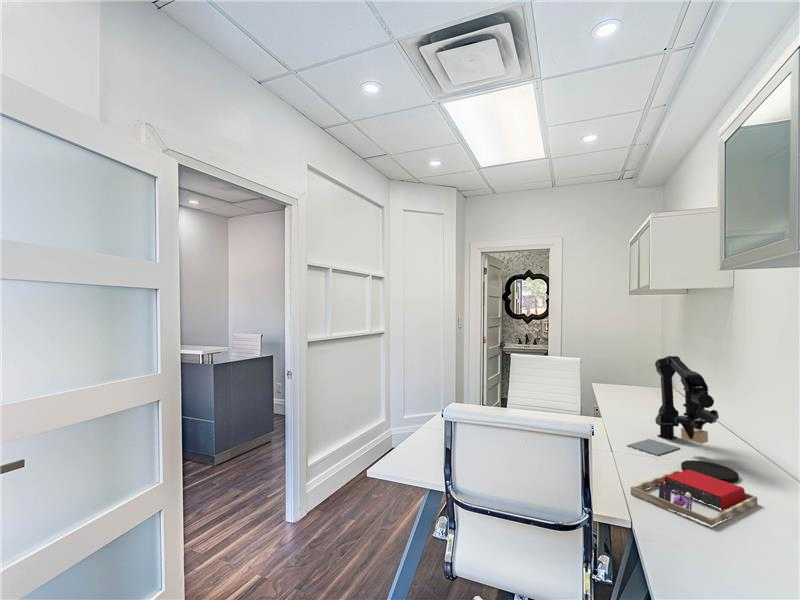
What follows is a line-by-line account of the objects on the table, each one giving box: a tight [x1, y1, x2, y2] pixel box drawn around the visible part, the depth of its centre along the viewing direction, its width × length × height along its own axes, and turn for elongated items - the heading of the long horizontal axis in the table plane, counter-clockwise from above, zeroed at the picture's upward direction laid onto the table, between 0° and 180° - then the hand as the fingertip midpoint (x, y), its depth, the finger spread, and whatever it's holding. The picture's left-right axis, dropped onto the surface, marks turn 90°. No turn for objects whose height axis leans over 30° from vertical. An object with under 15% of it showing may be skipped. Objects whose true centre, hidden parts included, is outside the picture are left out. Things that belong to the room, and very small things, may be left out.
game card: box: [658, 484, 693, 511], centre depth 129 cm, size 7×5×9 cm
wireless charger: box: [680, 459, 739, 484], centre depth 154 cm, size 18×18×2 cm
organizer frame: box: [630, 469, 758, 526], centre depth 134 cm, size 30×25×2 cm
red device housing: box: [664, 469, 746, 511], centre depth 136 cm, size 18×14×5 cm
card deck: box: [680, 427, 709, 444], centre depth 172 cm, size 5×8×4 cm, turn 26°
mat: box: [626, 438, 681, 457], centre depth 183 cm, size 18×14×1 cm
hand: (694, 437), depth 172 cm, fingers closed on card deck, 5 cm apart
